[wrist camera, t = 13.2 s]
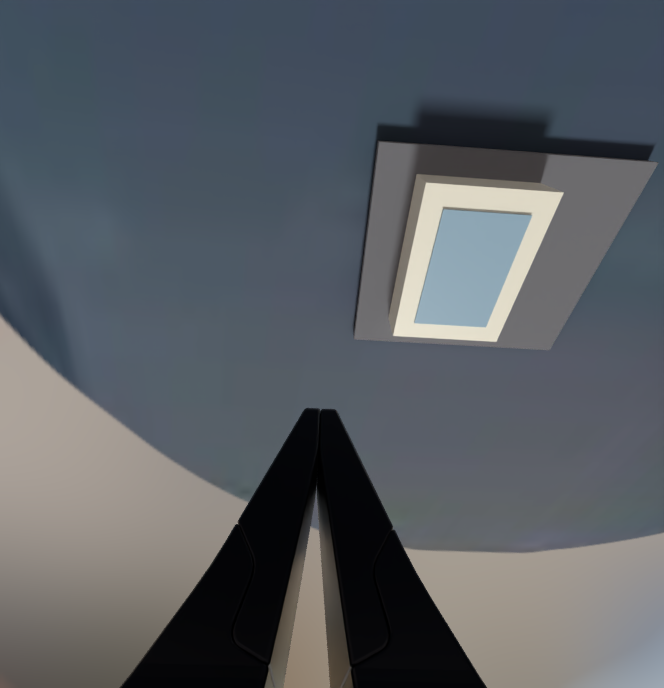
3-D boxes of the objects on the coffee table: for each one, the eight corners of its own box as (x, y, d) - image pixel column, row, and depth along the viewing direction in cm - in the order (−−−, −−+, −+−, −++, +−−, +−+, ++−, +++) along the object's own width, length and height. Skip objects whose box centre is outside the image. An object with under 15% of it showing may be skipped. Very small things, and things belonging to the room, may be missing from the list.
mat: (648, 160, 16) (658, 162, 15) (544, 344, 22) (549, 350, 22) (377, 140, 15) (379, 141, 15) (353, 334, 22) (354, 339, 21)
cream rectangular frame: (497, 342, 19) (393, 336, 19) (483, 322, 20) (388, 317, 20) (565, 193, 14) (426, 183, 14) (540, 183, 16) (416, 174, 16)
